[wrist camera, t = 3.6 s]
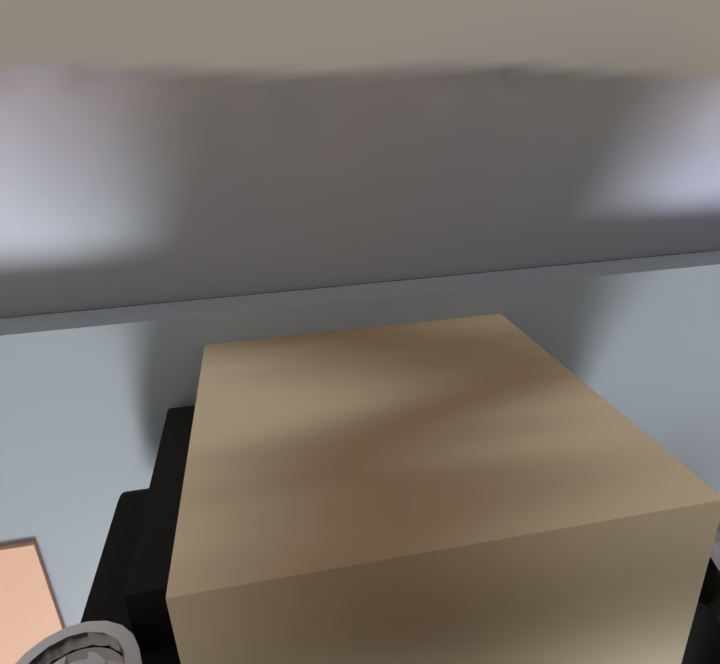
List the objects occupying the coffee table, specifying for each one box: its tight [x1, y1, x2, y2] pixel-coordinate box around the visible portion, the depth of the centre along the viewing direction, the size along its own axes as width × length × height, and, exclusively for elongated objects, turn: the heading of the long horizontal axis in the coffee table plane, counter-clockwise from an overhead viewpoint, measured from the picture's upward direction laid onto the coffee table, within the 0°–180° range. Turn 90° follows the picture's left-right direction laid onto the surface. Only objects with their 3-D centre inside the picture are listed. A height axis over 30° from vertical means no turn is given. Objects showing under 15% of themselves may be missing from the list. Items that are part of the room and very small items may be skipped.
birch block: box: [166, 313, 720, 664], centre depth 8 cm, size 5×5×5 cm
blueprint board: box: [0, 250, 720, 664], centre depth 12 cm, size 24×15×1 cm, turn 92°
